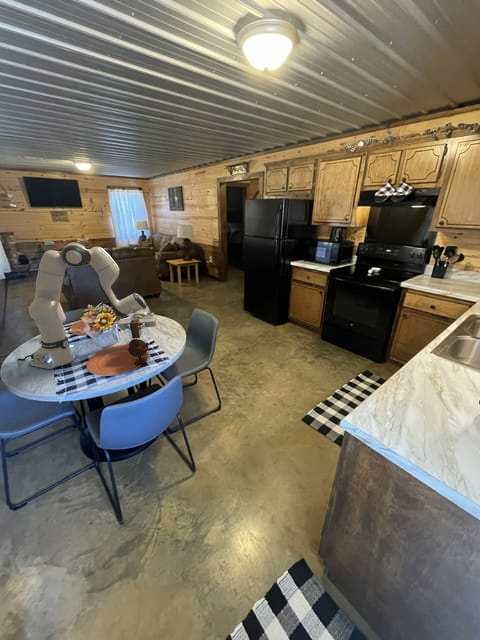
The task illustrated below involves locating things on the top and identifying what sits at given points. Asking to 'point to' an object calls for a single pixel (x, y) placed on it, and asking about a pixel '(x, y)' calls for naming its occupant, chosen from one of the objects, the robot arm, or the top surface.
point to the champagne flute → (61, 315)
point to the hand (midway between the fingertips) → (135, 328)
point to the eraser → (135, 328)
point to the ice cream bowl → (138, 350)
